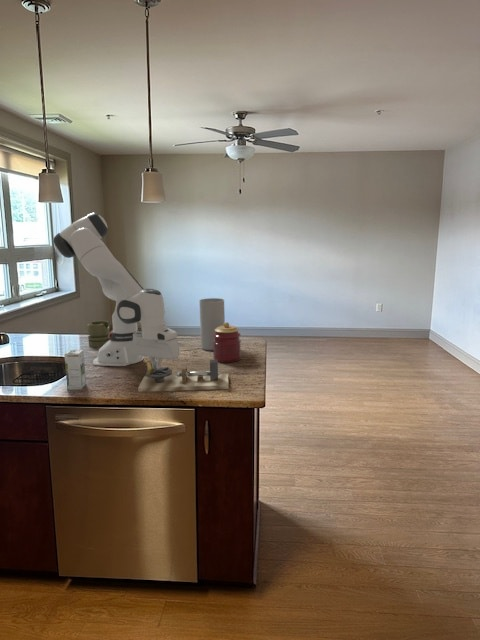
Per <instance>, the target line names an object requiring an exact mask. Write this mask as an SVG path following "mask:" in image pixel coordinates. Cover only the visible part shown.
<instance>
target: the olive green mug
mask: <svg viewBox="0 0 480 640" xmlns="http://www.w3.org/2000/svg"><path fill="white" fill-rule="evenodd" d="M86 327H87V335H88V336H87V339H88V347H90V348H101V347H102V346H103V345H104V344H105V343H107V342H108V341H109V340H110V339H109V336H108V335H109V334H110V332H111V331H110V321H108V320H95V321H91V324H89V323H87V324H86Z"/></svg>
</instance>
